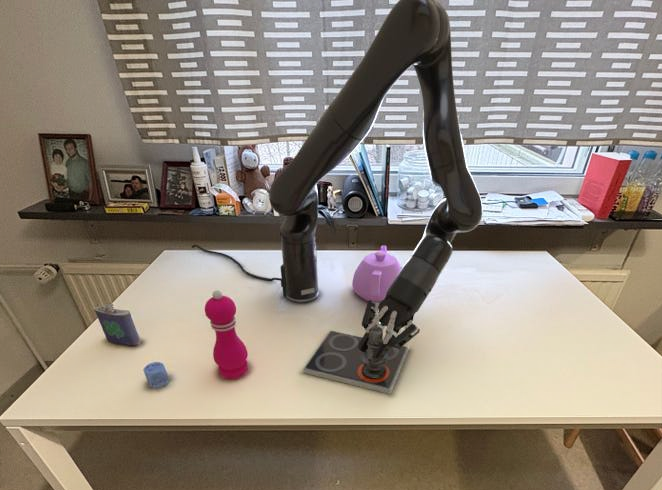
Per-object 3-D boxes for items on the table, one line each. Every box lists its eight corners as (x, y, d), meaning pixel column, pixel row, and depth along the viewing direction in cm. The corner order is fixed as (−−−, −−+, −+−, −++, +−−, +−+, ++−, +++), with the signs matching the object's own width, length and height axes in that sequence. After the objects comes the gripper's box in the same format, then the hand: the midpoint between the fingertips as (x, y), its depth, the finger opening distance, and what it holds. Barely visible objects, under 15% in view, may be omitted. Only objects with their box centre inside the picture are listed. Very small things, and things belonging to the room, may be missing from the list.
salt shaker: (385, 380, 86) (389, 334, 79) (358, 377, 87) (359, 330, 80) (389, 363, 91) (392, 317, 83) (363, 360, 92) (364, 314, 84)
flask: (143, 341, 100) (129, 303, 93) (135, 348, 97) (120, 310, 91) (112, 335, 101) (95, 298, 95) (103, 342, 99) (85, 304, 93)
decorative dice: (170, 383, 88) (165, 369, 85) (151, 390, 86) (145, 376, 83) (166, 373, 90) (161, 359, 88) (147, 380, 89) (141, 365, 86)
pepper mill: (221, 384, 88) (201, 303, 75) (214, 365, 93) (193, 287, 80) (254, 374, 90) (239, 295, 78) (245, 356, 95) (230, 279, 83)
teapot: (402, 313, 111) (406, 272, 103) (346, 308, 113) (346, 267, 105) (407, 276, 128) (411, 239, 120) (358, 272, 130) (358, 235, 122)
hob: (303, 373, 91) (303, 367, 90) (330, 334, 103) (330, 329, 102) (390, 394, 86) (390, 388, 85) (408, 351, 98) (408, 345, 97)
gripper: (380, 264, 84) (336, 335, 86) (433, 289, 76) (383, 367, 77) (396, 279, 90) (354, 345, 92) (447, 304, 82) (400, 376, 83)
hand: (368, 355), depth 85 cm, fingers closed on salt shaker, 3 cm apart
